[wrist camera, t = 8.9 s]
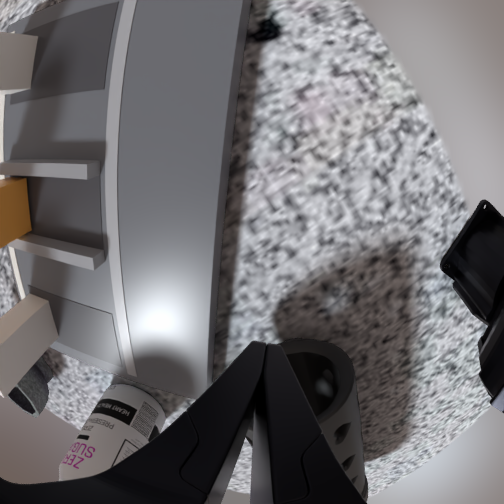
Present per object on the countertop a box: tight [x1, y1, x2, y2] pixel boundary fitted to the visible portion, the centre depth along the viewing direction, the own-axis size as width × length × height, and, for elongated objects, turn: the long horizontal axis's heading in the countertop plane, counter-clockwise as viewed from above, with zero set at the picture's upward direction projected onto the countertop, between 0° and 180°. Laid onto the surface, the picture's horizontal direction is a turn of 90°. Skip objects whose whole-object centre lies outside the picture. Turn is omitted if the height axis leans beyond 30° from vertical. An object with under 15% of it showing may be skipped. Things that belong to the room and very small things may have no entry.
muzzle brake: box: [246, 338, 368, 501], centre depth 24 cm, size 10×28×10 cm, turn 18°
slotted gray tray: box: [0, 0, 252, 400], centre depth 16 cm, size 22×34×12 cm, turn 173°
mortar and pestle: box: [7, 357, 53, 418], centre depth 29 cm, size 11×9×12 cm
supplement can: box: [59, 384, 166, 481], centre depth 25 cm, size 8×8×15 cm
